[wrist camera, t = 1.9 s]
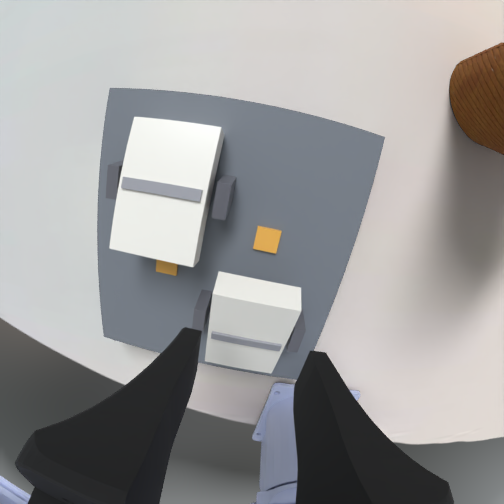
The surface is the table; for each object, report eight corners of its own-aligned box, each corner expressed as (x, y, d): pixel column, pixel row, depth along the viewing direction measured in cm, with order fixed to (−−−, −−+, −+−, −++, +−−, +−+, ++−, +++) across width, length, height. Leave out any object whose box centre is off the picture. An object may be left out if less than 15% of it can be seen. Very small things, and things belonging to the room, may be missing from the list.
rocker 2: (272, 353, 18) (271, 375, 17) (209, 341, 18) (204, 363, 17) (301, 287, 15) (301, 313, 13) (218, 271, 14) (211, 296, 13)
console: (297, 351, 22) (302, 401, 18) (116, 312, 22) (88, 353, 17) (366, 134, 16) (400, 140, 11) (129, 91, 15) (85, 85, 11)
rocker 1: (199, 260, 14) (192, 268, 13) (122, 244, 14) (107, 248, 13) (224, 135, 13) (220, 126, 12) (145, 124, 13) (133, 115, 12)
